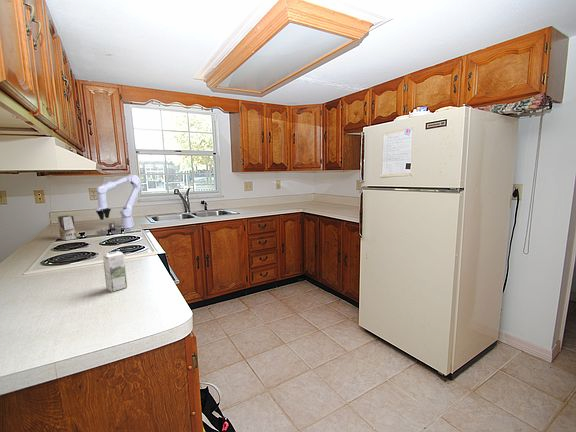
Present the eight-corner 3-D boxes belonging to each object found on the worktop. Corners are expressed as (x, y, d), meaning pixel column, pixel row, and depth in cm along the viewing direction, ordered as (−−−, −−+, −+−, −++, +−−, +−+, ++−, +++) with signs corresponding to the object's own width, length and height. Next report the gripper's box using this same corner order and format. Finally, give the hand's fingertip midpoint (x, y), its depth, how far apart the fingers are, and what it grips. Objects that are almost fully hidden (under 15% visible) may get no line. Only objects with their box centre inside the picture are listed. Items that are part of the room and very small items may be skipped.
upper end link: (103, 231, 226) (103, 228, 226) (122, 230, 227) (122, 227, 227) (96, 234, 216) (96, 230, 216) (116, 233, 217) (116, 230, 217)
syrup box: (121, 284, 119) (117, 250, 117) (127, 287, 115) (124, 252, 113) (106, 288, 115) (102, 253, 112) (112, 292, 111) (107, 256, 109)
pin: (111, 231, 224) (110, 222, 223) (116, 231, 224) (115, 222, 223) (108, 232, 220) (107, 223, 219) (114, 232, 220) (113, 223, 219)
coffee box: (76, 238, 203) (73, 215, 200) (66, 240, 197) (62, 217, 195) (70, 237, 207) (67, 214, 205) (60, 239, 202) (56, 216, 199)
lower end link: (109, 231, 226) (109, 229, 226) (130, 230, 228) (130, 228, 228) (102, 233, 216) (102, 231, 216) (124, 233, 218) (124, 231, 218)
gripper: (102, 200, 232) (104, 217, 234) (91, 202, 218) (94, 220, 220) (111, 200, 233) (113, 217, 235) (101, 202, 218) (103, 220, 221)
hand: (104, 218), depth 227 cm, fingers open, 7 cm apart
